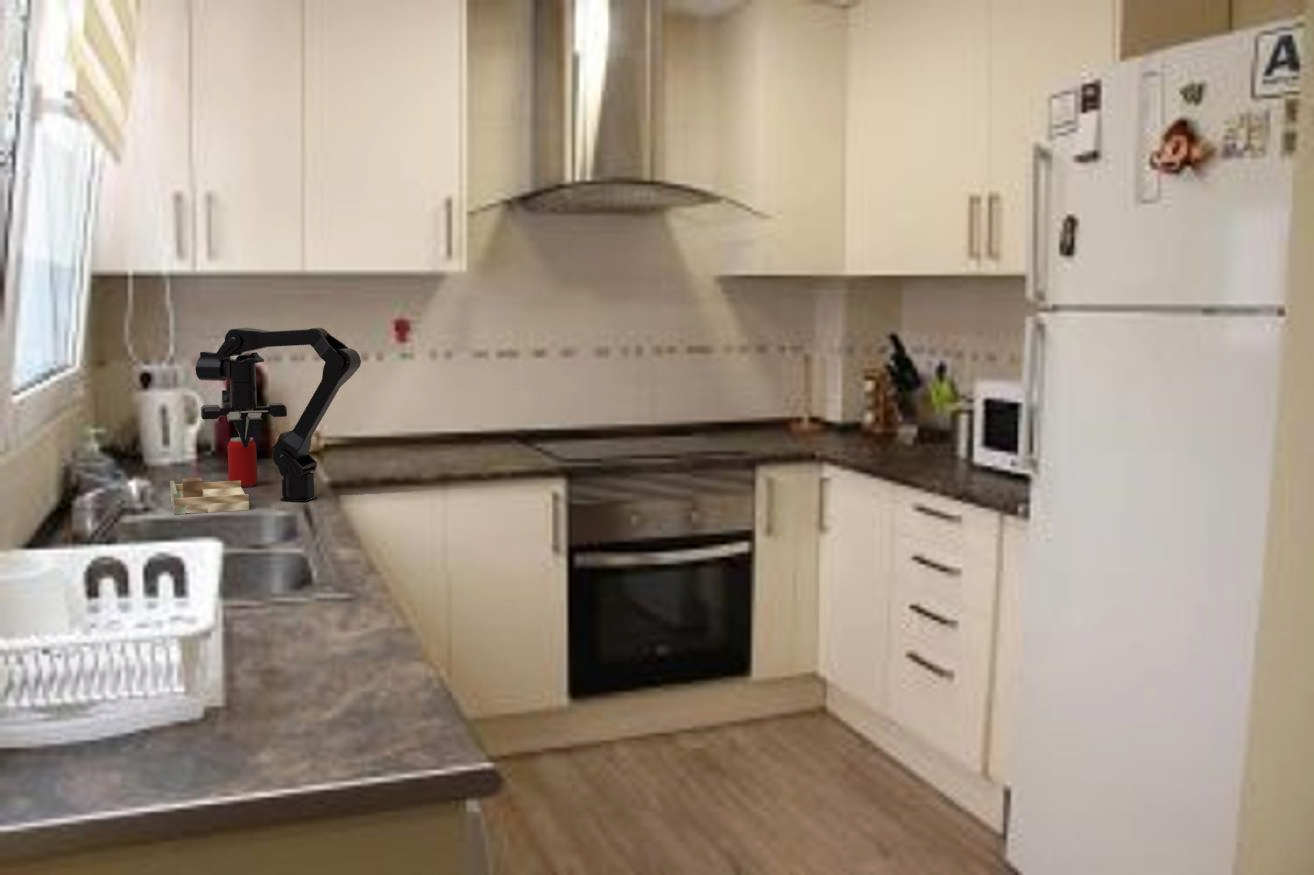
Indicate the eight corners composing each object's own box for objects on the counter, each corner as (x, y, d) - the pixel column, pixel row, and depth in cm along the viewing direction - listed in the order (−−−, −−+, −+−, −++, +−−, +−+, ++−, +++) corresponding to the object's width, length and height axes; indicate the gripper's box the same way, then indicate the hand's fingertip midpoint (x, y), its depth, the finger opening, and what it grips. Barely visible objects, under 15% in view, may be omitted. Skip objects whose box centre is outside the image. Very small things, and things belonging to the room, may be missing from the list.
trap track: (241, 494, 270) (240, 476, 269) (249, 509, 253) (248, 490, 252) (170, 499, 263) (170, 480, 263) (174, 514, 246) (173, 494, 246)
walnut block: (201, 494, 259) (201, 477, 259) (202, 497, 256) (202, 480, 255) (183, 495, 257) (182, 478, 257) (183, 498, 254) (183, 481, 253)
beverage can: (262, 483, 285) (260, 437, 283) (250, 488, 278) (248, 440, 276) (236, 482, 285) (235, 436, 284) (224, 487, 279) (222, 439, 277)
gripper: (280, 377, 275) (282, 440, 277) (198, 379, 267) (200, 444, 269) (286, 381, 265) (288, 447, 267) (201, 383, 257) (203, 451, 259)
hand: (245, 447), depth 266 cm, fingers closed
